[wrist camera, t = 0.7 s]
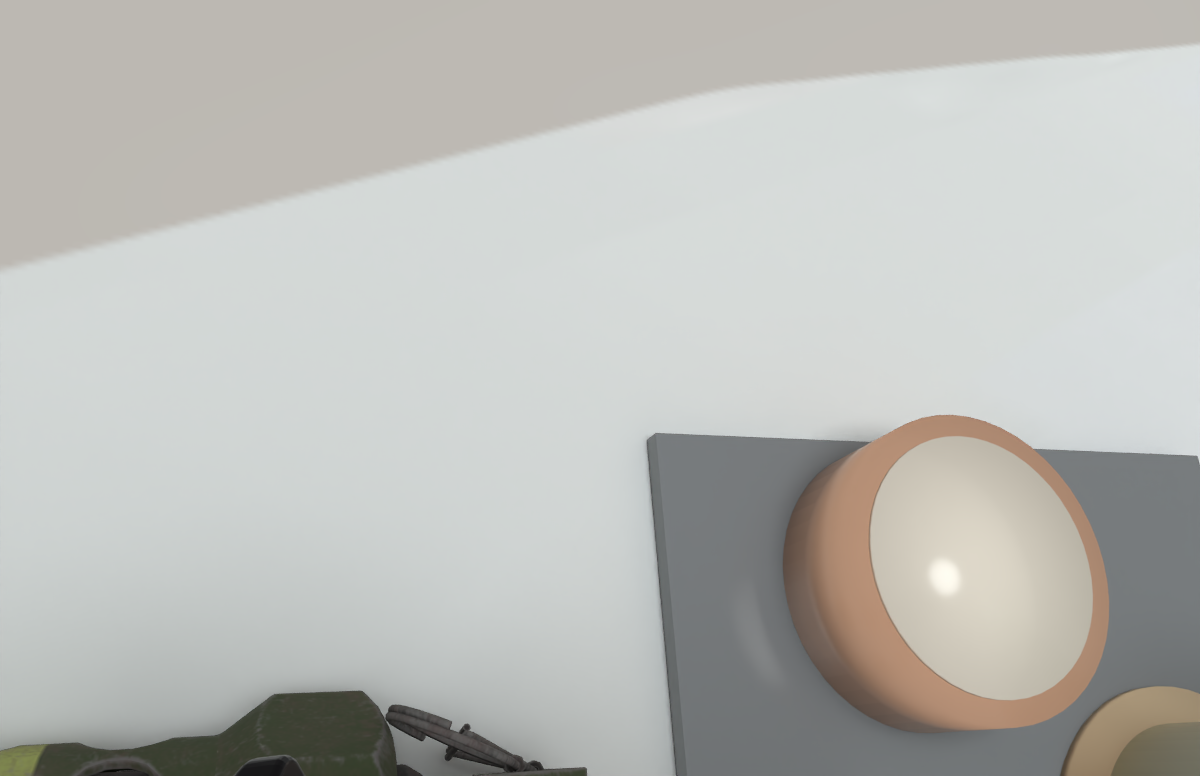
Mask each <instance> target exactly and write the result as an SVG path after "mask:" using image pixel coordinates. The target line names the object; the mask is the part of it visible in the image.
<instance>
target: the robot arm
mask: <svg viewBox="0 0 1200 776" xmlns="http://www.w3.org/2000/svg"><path fill="white" fill-rule="evenodd" d="M234 776H305V774H304V773H303V771H302V769H301V767H300V765H299V764H298V762H297V761H296V759H294V758H293V757H291V756H289V755H278V756H269V757H260V758H255V759H252V760H250V761H248V762H247V763H245V764H244V765H243V766H242V767H241V768H240V769H239V770H238V771H237V772H236V774H235V775H234Z"/></svg>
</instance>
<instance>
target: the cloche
mask: <svg viewBox="0 0 1200 776" xmlns="http://www.w3.org/2000/svg"><path fill="white" fill-rule="evenodd" d="M1111 776H1200V722H1185V723H1169V724H1161V725H1156V726H1153V727H1151V728H1148V729H1146V730H1144V731H1142V732H1141V733H1139V734H1138V735H1136V736H1135V737H1134V738H1133V739H1132V740H1131V741H1130V742H1129V743H1128V744H1127V745H1126V747H1125V748H1124V749H1123V751H1122V752H1121V754H1120V756H1119V757H1118V759H1117V761H1116V763H1115V765H1114V768H1113V771H1112V773H1111Z"/></svg>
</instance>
